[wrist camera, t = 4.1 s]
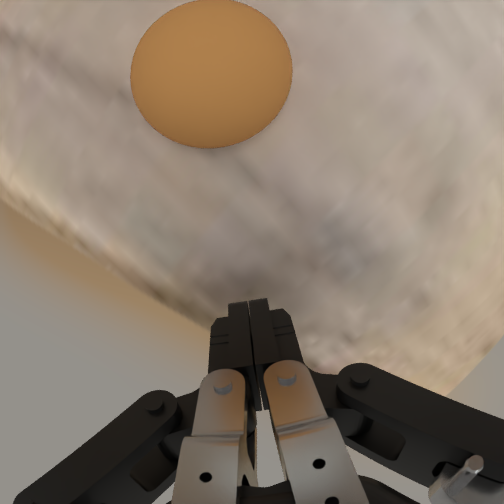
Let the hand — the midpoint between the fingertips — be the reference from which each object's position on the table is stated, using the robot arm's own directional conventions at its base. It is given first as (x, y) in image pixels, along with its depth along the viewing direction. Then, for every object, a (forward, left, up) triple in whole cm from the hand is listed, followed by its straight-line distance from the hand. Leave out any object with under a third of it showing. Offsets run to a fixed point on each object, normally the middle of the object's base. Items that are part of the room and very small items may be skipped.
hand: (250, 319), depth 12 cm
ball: (-9, 0, -1) cm, 9 cm away
